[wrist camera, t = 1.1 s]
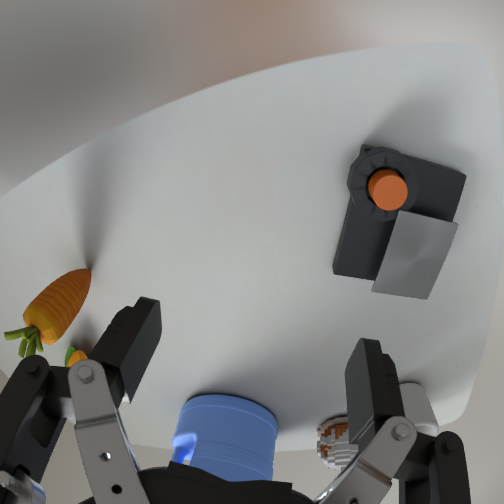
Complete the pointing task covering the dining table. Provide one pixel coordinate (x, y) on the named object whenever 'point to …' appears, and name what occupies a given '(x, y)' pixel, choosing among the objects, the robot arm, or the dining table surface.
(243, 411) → the water jug
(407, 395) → the cup
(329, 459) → the caramel apple
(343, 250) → the scale
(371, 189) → the button
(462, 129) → the dining table surface
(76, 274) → the carrot
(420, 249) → the plate
